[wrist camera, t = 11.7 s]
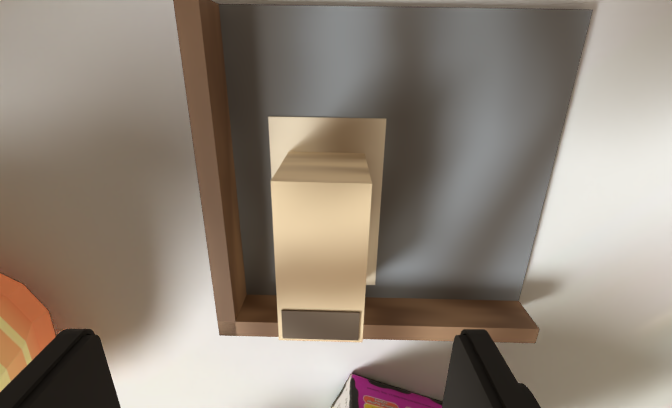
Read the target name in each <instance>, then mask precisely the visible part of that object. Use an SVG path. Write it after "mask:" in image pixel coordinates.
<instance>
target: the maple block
mask: <svg viewBox="0 0 672 408" xmlns="http://www.w3.org/2000/svg"><path fill="white" fill-rule="evenodd" d="M371 194H372V181H371V177H370V173H369V169H368V165H367V161H366V157H365V153H331V152H288V153H287V155H286V157H285V158H284V160H283V162H282V163H281V165H280V167H279V168H278V170H277V172H276V173H275V175H274V176H273V178H272V180H271V198H272V217H273V236H274V256H275V275H276V294H277V313H278V332H279V340H297V341H333V342H362V340H363V323H364V307H365V291H366V275H367V259H368V242H369V226H370V210H371Z"/></svg>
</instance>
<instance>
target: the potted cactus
mask: <svg viewBox="0 0 672 408" xmlns="http://www.w3.org/2000/svg"><path fill="white" fill-rule="evenodd" d="M55 337H56V335H55V331H54V328H53V324H52V321H51V317H50V314H49V311H48V310H47V309H46V308H45V307H44V306H43V304H42V303H41V302H40V301H39V300H38V299H37V298H36V297H35V296H34V295H33V294H32V293H31V292H30V291H29V290H28V289H27V288H26V287H25V286H24V285H23V284H22V283H20V282H18V281H15V280H13V279H11V278H9V277H7V276H5V275H3V274H1V273H0V392H1V391H2V390H3V389H4V388H5V387H6V386H7V385H8V384H9V383H10V382H11V381H12V380H13V379H14V378H15V377H16V376H17V375H18V374H19V373H20V372H21V371H22V370H23V369H24V368H25V367H26V366H27V365H28V364H29V363H30V362H31V361H32V360H33V359H34V358H35V357H36V356H37V355H38V354H39V353H40V352H41V351H42V350H43V349H44V348H45V347H46V346H47V345H48V344H49V343H50V342H51V341H52V340H53V339H54V338H55Z"/></svg>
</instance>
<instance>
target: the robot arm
mask: <svg viewBox="0 0 672 408" xmlns="http://www.w3.org/2000/svg"><path fill="white" fill-rule="evenodd" d="M0 408H120V404H119V401H118V397H117V394H116V390H115V387H114V384H113V380H112V377H111V374H110V370H109V367H108V364H107V360H106V357H105V354H104V350H103V347H102V344H101V340H100V338H99V336H98V335H95V334H94V332H93V331H92V330H91V329H66V330H63V331H62V332H60V333H59V334H58V335H57V336H56V337H55V338H54V339H53V340H52V341H51V342H50V343H49V344H48V345H47V346H46V347H45V348H44V349H43V350H42V351H41V352H40V353H39V354H38V355H37V356H36V357H35V358H34V359H33V360H32V361H31V362H30V363H29V364H28V365H27V366H26V367H25V368H24V369H23V370H22V371H21V372H20V373H19V374H18V375H17V376H16V377H15V378H14V379H13V380H12V381H11V382H10V383H9V384H8V385H7V386H6V387H5V388H4V389H3V390H2V391H1V392H0ZM442 408H541V407H540V406H539V404H538V402H537V401H536V399H535V398H534V396H533V394H532V393H531V391H530V390H529V389H528V387H526V386H525V385H524V384H522V383H518V382H517V381H516V379H515V377H514V375H513V374H512V372H511V370H510V369H509V367H508V365H507V364H506V362H505V360H504V359H503V357H502V355H501V353H500V352H499V350H498V348H497V347H496V345H495V343H494V342H493V340H492V338H491V336H490V335H489V333H488V332H487V331H486V330H485V329H463V330H462V331H461V334H460V335H456V336H455V337H454V342H453V348H452V353H451V359H450V364H449V370H448V376H447V381H446V387H445V392H444V398H443V404H442Z"/></svg>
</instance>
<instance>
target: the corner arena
mask: <svg viewBox="0 0 672 408" xmlns="http://www.w3.org/2000/svg"><path fill="white" fill-rule="evenodd" d="M173 1H174V9H175V16H176V23H177V30H178V38H179V45H180V52H181V59H182V67H183V74H184V81H185V88H186V96H187V103H188V110H189V117H190V125H191V132H192V139H193V146H194V154H195V161H196V168H197V175H198V183H199V190H200V197H201V204H202V212H203V219H204V226H205V233H206V241H207V248H208V255H209V262H210V270H211V277H212V284H213V291H214V299H215V306H216V313H217V320H218V327H219V335H225V336H266V337H279V332H278V313H277V294H276V275H275V256H274V236H273V217H272V198H271V180H272V178H273V176H274V175H275V173H276V172H277V170H278V168H279V167H280V165H281V163H282V162H283V160H284V158H285V157H286V155H287V153H288V152H331V153H365V157H366V161H367V165H368V169H369V173H370V177H371V181H372V194H371V210H370V226H369V242H368V259H367V275H366V291H365V307H364V323H363V339H388V340H429V341H454V337H455V336H456V335H460V334H461V331H462V330H463V329H485V330H486V331H487V332H488V333H489V335H490V336H491V338H492V340H493V342H510V343H536V339H537V336H538V332H539V328H538V326H537V325H536V324H535V322H534V321H533V320H532V318H531V317H530V316H529V314H528V313H527V312H526V310H525V309H524V308H523V306H522V305H521V303H520V302H519V297H520V293H521V289H522V285H523V282H524V278H525V274H526V270H527V266H528V262H529V258H530V254H531V250H532V246H533V242H534V238H535V234H536V231H537V227H538V223H539V219H540V215H541V211H542V207H543V203H544V199H545V195H546V191H547V187H548V183H549V180H550V176H551V172H552V168H553V164H554V160H555V156H556V152H557V148H558V144H559V140H560V136H561V132H562V128H563V125H564V121H565V117H566V113H567V109H568V105H569V101H570V97H571V93H572V89H573V85H574V81H575V77H576V74H577V70H578V66H579V62H580V58H581V54H582V50H583V46H584V42H585V38H586V34H587V30H588V26H589V23H590V19H591V15H592V11H593V10H578V9H511V8H444V7H378V6H311V5H244V4H217V3H215V2H213V1H211V0H173Z"/></svg>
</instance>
